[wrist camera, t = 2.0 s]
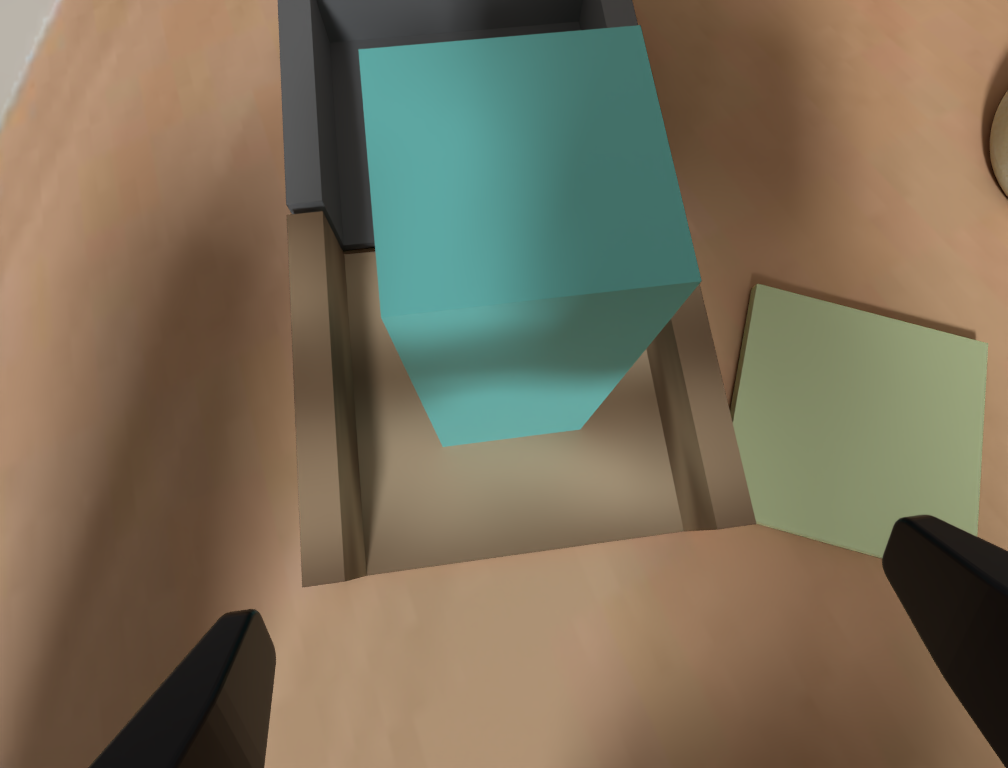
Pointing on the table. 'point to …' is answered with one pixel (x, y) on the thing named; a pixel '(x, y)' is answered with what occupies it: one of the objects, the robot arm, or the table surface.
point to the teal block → (522, 223)
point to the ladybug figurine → (1000, 144)
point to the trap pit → (338, 92)
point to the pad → (856, 420)
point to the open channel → (487, 443)
